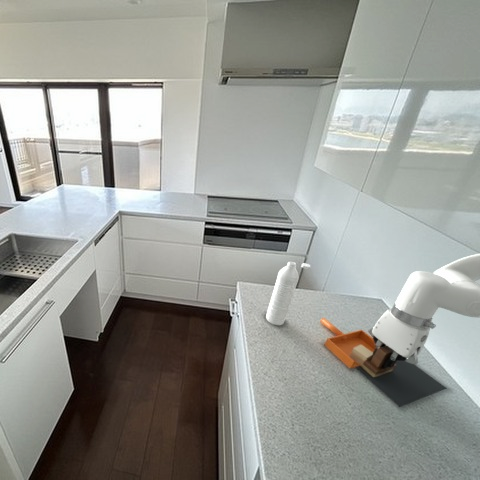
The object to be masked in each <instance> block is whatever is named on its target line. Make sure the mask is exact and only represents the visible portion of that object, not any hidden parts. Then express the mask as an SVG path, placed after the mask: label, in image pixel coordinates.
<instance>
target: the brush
mask: <svg viewBox="0 0 480 480" xmlns="http://www.w3.org/2000/svg"><path fill="white" fill-rule="evenodd" d="M393 351H394V350H393V349H391V348H390V347H389V346H387V345H386V346H383V347H380V348H378V349H377V351H376V353H375V355H374V356H373V358H372V359H369V360H366V361H364V363H363V367H362V368H363V369H364V370H365V371H367V372H368V373H369V374H370V375H371V376H372V377H376V376H379V375H382V374H385V373H388V372H391V371H392V370H393V369H394V368H395V367H396V366H397V365H396V364H395V365H394V366H393V367H391V368H390V367H387V368H383V367H382V365H383V363H384V362H385V360H386V358H387V357H390V356H391V355H392V353H393Z"/></svg>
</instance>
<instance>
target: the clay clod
mask: <svg viewBox="0 0 480 480" xmlns="http://www.w3.org/2000/svg"><path fill="white" fill-rule="evenodd" d="M349 357H350V358H351V359H353V360H354V361H355V362H356V363H357V364H359V365H360V366H362V367H363V363H364V361H366V360H369V359H372V357H373V352H371V351H370V350H368V349H367V348H365V347H364V346H362V345H359V346H357V347H355V348H353V350H352V352H351V354H350V356H349Z"/></svg>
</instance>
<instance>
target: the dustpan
mask: <svg viewBox="0 0 480 480" xmlns="http://www.w3.org/2000/svg"><path fill="white" fill-rule="evenodd" d="M320 323H321V324H322V325H323V326H324V327H326V328H327V329H328V330H329V331H331V332H332V333H333V334H334V335H335V336H331V337H327V338H326V340H325V343H324V346H325V347H326V349H328V350H329V351H330V352H331V353H332V354H333V355H334V356H335V357H337V358H338V359H339V360H340V361H341V362H342V363H343V364H345V366H346V367H347V368H349V369H354V368H355V367H357V366H360V365H359V364H357V363H356V362H355V361H354V360H353V359H351V358H350V357H349V356H350V354H351V352H352V350H353V348H355V347H357V346H359V345H362V346H364V347H365V348H367V349H368V350H370V351H371V352H374V350H375V348H376V347H375V342H374V340H373V337H372V336H371V335H370V334H369V333H367V332H366V331H364V330H363V329H358V330H354V331H351V332H347V333H344V332H342V331H341V330H340V329H338V328H337V327H336V326H335V325H334V324H332V323H331V322H330V321H328V320H327V319H326V318H325V317H323V318H320Z"/></svg>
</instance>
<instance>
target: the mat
mask: <svg viewBox="0 0 480 480" xmlns="http://www.w3.org/2000/svg"><path fill="white" fill-rule="evenodd" d="M395 364H396V365H397V366H396V367H395V368H394V369H393V370H392V371H391V372H388V373H385V374H382V375H379V376H376V377H372V376H371V375H370V374H369V373H368V372H367V371H365V370H364V369H363V368H362V366H357V367H354V368H355V369H356V370H357V371H358V372H359V373H360V374H361V375H363V376H364V377H365V378H366V379H367V380H368V381H369V382H371V383H372V384H373V385H374V386H375V387H376V388H377V389H378V390H380V391H381V392H382V393H383V394H384V395H385V396H386V397H387V398H389V399H390V400H391V401H392V402H393V403H394V404H396V405H397V406H398V407H399V408H401V407H403V406H406V405H408V404H412V403H413V402H416V401H418V400H421V399H423V398H426V397H428V396H431V395H434V394H437V393H439V392H441V391H444V390H447V387H446V386H444V385H443V384H442V383H440V382H439V381H438V380H436V379H435V378H433V377H432V376H431V375H429V374H428V373H427V372H425V371H424V370H423V369H421V368H420V367H418V366H417V364H414V365H413V364H410V363H408V362H406V361H398V360H397V361H396V363H395Z"/></svg>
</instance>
